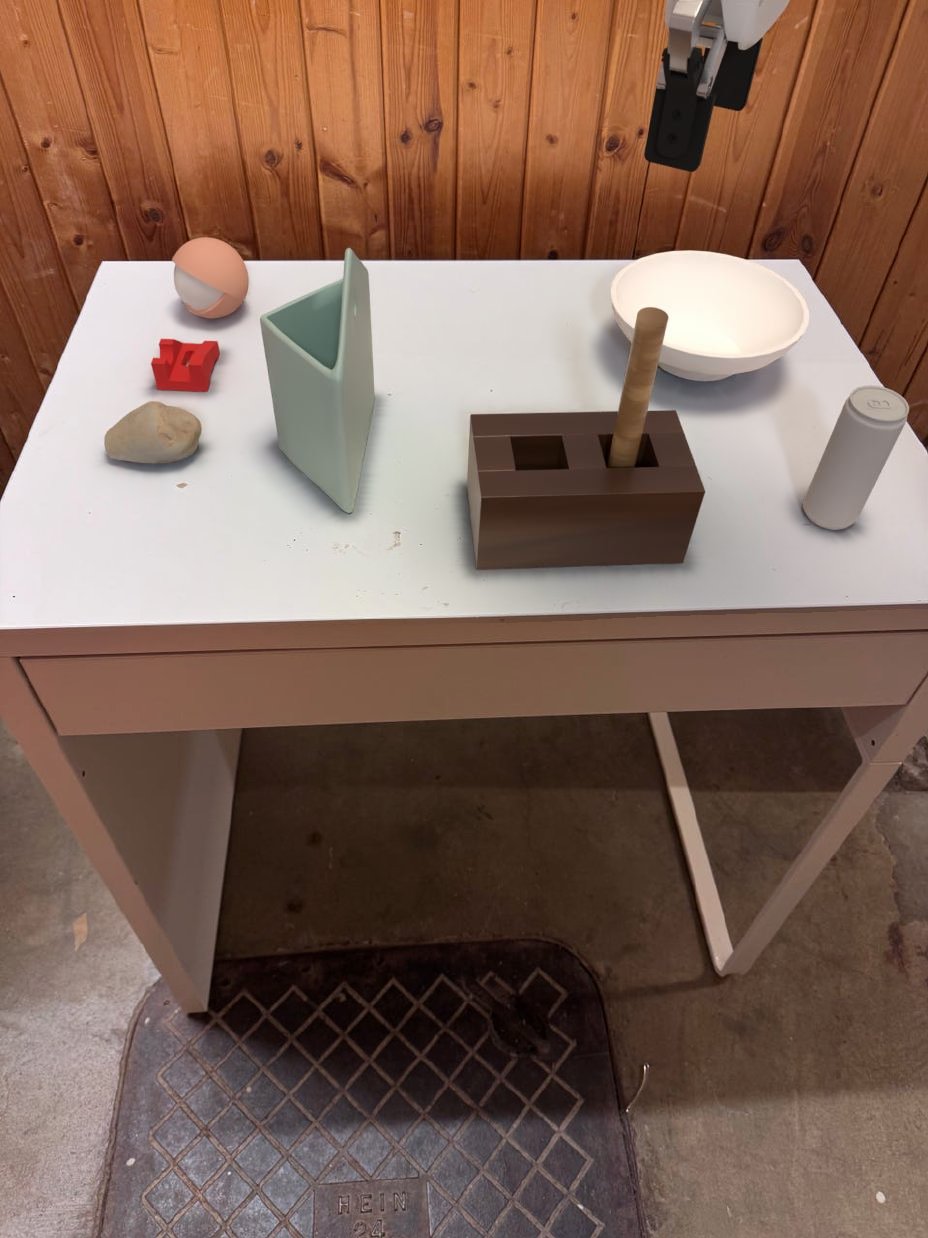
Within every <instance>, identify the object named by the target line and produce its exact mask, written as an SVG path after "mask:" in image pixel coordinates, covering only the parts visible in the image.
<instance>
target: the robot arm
mask: <svg viewBox="0 0 928 1238" xmlns="http://www.w3.org/2000/svg"><path fill="white" fill-rule="evenodd" d="M790 1H791V0H665V10H664V25H665V27H666V30H668V31H667V46H666V47H664V48H663V51H662V53H661V57H662V58H661V60H660V61H661V64H660V68H659V71H658V74H657V77H656V78H657V79H656V85H655V91H654V97H653V102H652V107H651V113H650V119H649V124H648V130H647V131H648V132H647V136H646V142H645V148H644V152H643V156H644V159H645V161H646V162H648V163H651V164H655V165H661V166H664V167H668V168H673V169H676V170H681V171H684V172H689V173H694V172H695V171H697V170H698V169H699V167H700V166H701V164H702V160H703V156H704V151H705V147H706V143H707V139H708V133H709V130H710V124H711V121H712V116H713V111H714V107H717V108H721V109H725V110H730V111H735V112H741V111H743V109H745V107H746V106H747V104H748V101H749V96H750V92H751V89H752V84H753V80H754V76H755V72H756V68H757V65H758V60H759V55H760V53H761V47H762V45H763V40H764V38H763V37H764V35H765V34H766V33H767V32H768V31H769V30H770V29H771V27H773V25H774V24H775V23H776V21H777V20H778V19H779V18H780V16H781V15H782V14H783V13H784V11H785V10H786V8H787V7H788V5H789V3H790ZM703 22H704V23H710V24H714V25H715V26H714V25H708V24H704V23H703ZM697 46H698V47H697ZM701 47H703V48H704V51H703V48H701Z"/></svg>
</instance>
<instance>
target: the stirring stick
mask: <svg viewBox="0 0 928 1238" xmlns="http://www.w3.org/2000/svg"><path fill="white" fill-rule="evenodd" d="M667 323H668V314H667V313H666V312H665V311H663V310H661V309H659V308H655V307H646V308H643V309H641V310H639V312H638V313H637V318H636V323H635V328H634V333H633V338H632V343H631V342H630V343H631V344H630V348H629V354H628V359H627V363H626V369H625V375H624V378H623V384H622V389H621V394H620V399H619V405H618V409H617V411H618V414H617V419H616V424H615V429H614V434H613V439H612V444H611V449H610V454H609V460H608V465H607V468H635V463H636V459H637V455H638V450H639V446H640V442H641V437H642V433H643V428H644V424H645V420H646V415H647V411H649V406H650V403H651V402H650V401H651V397H652V394H653V388H654V383H655V379H656V375H657V372H658V367H659V366H658V362H659V358H660V354H661V349H662V345H663V340H664V336H665V332H666V327H667Z"/></svg>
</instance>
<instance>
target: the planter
mask: <svg viewBox="0 0 928 1238" xmlns="http://www.w3.org/2000/svg"><path fill="white" fill-rule="evenodd" d="M343 261H344V263H343V274H342V275H343V276H342V278H341V279H338V280H335V281H334V282H332V283H329V284H327V285H325V286H322V287H320V288H317V289H316V290H313V291H311V292H308V293H306V294H304V295H301V296H300V297H298V298H295V299H293V300H291V301H289V302H287V303H285V304H282V305H280V306H278V307H276V308H274V309H272V310H270V311H268V312H266V313H264V314H262V315H261V316H260V318H259V323H260V330H261V337H262V344H263V350H264V357H265V363H266V370H267V375H268V381H269V387H270V395H271V401H272V408H273V414H274V421H275V427H276V434H277V441H278V442H277V443H278V448H279V449H280V450H281V451H282V452H283V454H284V455H285V456H286V457H287V458H288V460H289V461H290V462H291V463H292V465H294V466H295V467H296V468H297V469H298V470H299V471H300V472H302V474H304V476H306V477H307V478H308V480H310V481H311V482H313V484H315V485H316V486H317V487H318V488H319V489H320V490H321V491H323V492H324V493H325V494H326V496H328V497H329V498H330V499H331V500H332V501H333V502H334V503H335V504H336V505H337V506H338V507H339V508H340V509H341V510H342V511H343V512H345V513H348V514H351V513H352V512H354V509H355V504H356V499H357V494H358V488H359V484H360V478H361V474H362V469H363V463H364V459H365V454H366V448H367V444H368V438H369V433H370V427H371V423H372V417H373V413H374V408H375V401H376V396H375V395H376V393H375V374H374V355H373V354H374V353H373V334H372V330H373V329H372V313H371V310H372V309H371V294H370V290H371V289H370V277H369V271H368V268H367V267H366V266H365V265H364V263H363V262H362V261H361V260H360V258H359V257H358V256H357V255H356V253H355V251H354V250H353V249H352V248H350V247H347V248H346V249H345V251H344V260H343Z"/></svg>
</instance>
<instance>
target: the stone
mask: <svg viewBox="0 0 928 1238" xmlns="http://www.w3.org/2000/svg"><path fill="white" fill-rule="evenodd" d="M201 436H202V423H201V421H200V419H199V418H198V417H197V416H196V415H195V414H193V413H192V412H190V411H189V410H186V409H185V408H181V407H178V406H174V405H173V406H172V405H166V404H164V403H163V402H161V401H157V400H150V401H147V402H146V403H144V404H142V405H139V406H138V407H136V408H135V409H133V410H131V411H130V412H128V413H127V414H126V415H124V416H122V418H121V419H119V421H117V422H116V423H115V424H113V425H112V427H110V428H109V429H108V430H107V431H106V433H105V434H104V438H103V440H104V441H103V442H104V443H103V444H104V449H105V452H106V454H107V456H108V457H109V458H111V459H113V460H116V461H117V460H118V461H126V462H132V463H141V464H168V463H173V462H178V461H180V460H181V461H182V460H184V459H185V458H188V457H190V456H192V455H193V454H194V453H195V452H196V451H197V448H198V446H199V442H200V441H199V440H200V438H201Z"/></svg>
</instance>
